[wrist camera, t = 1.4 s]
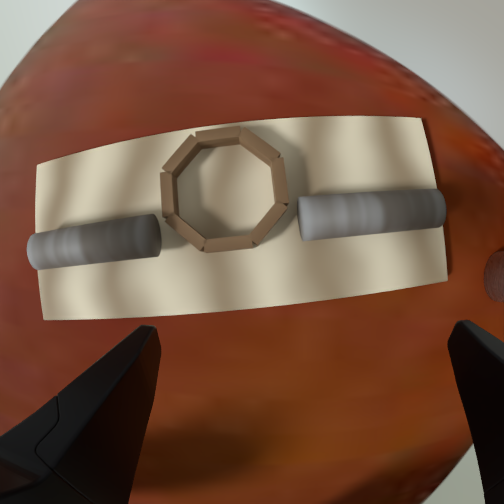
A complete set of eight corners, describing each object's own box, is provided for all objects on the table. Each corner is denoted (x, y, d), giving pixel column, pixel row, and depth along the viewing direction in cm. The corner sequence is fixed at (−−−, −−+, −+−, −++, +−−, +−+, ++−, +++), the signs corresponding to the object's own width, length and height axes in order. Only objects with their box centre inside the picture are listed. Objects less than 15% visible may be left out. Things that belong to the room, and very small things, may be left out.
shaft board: (415, 122, 22) (436, 104, 18) (441, 280, 22) (468, 282, 18) (43, 167, 23) (17, 156, 19) (50, 318, 22) (23, 325, 19)
